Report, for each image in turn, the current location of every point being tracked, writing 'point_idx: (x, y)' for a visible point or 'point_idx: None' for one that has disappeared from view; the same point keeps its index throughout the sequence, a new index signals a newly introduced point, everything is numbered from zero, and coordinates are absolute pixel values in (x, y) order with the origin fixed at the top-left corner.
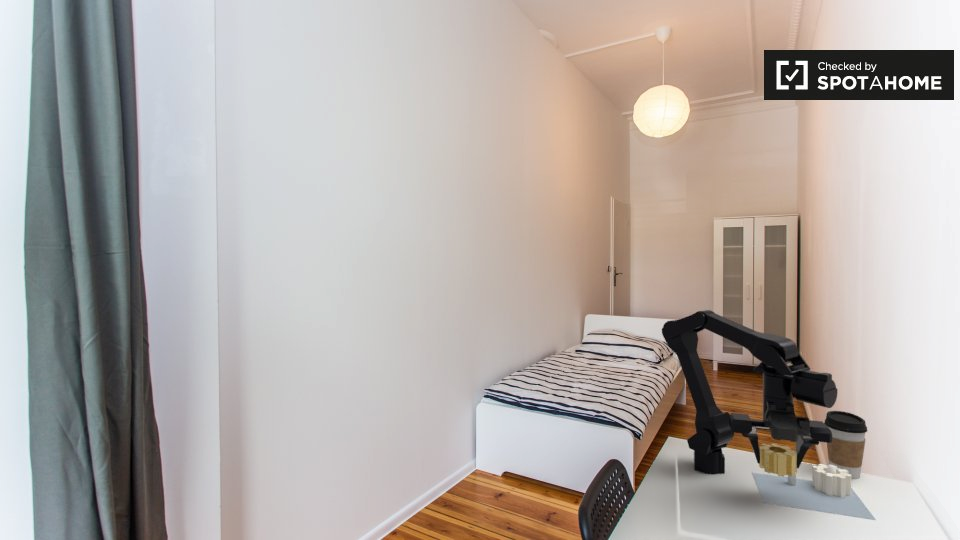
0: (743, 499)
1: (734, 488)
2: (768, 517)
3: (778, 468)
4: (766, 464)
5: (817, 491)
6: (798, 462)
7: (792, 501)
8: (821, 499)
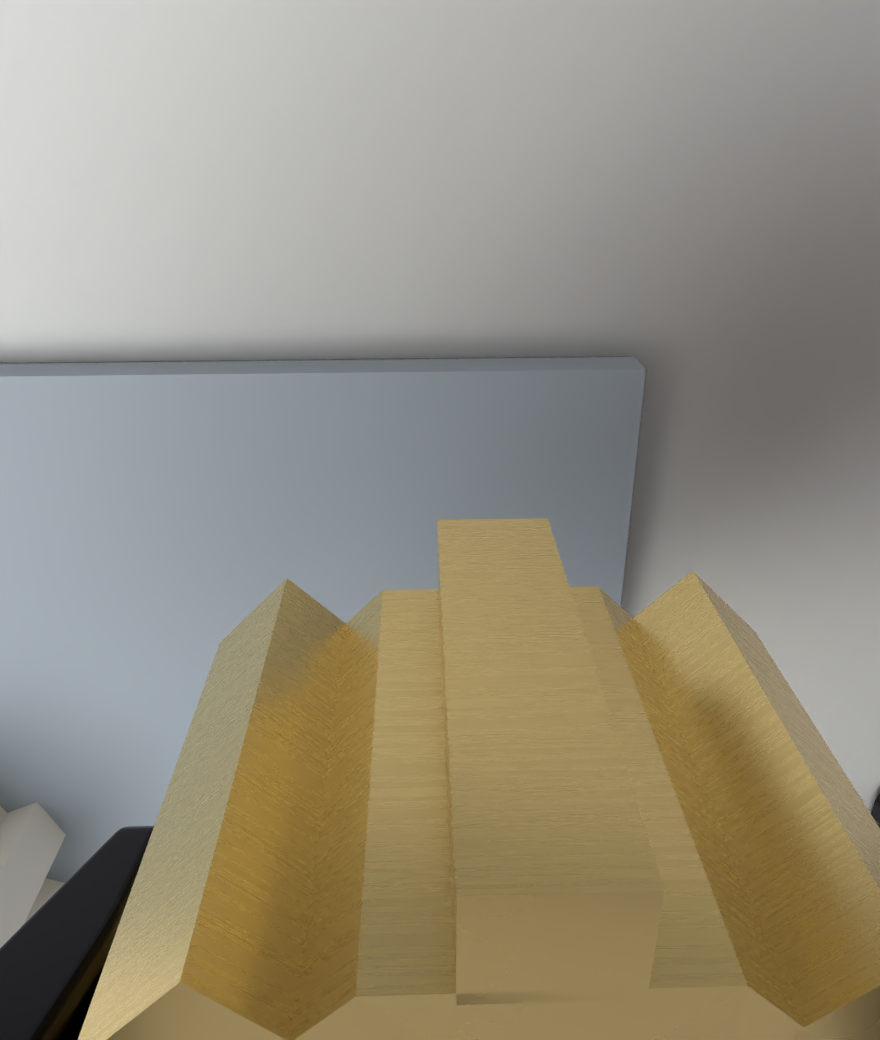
0: (811, 446)
1: (824, 653)
2: (650, 73)
3: (567, 605)
4: (792, 716)
5: (43, 795)
6: (77, 927)
7: (308, 511)
8: (13, 655)
